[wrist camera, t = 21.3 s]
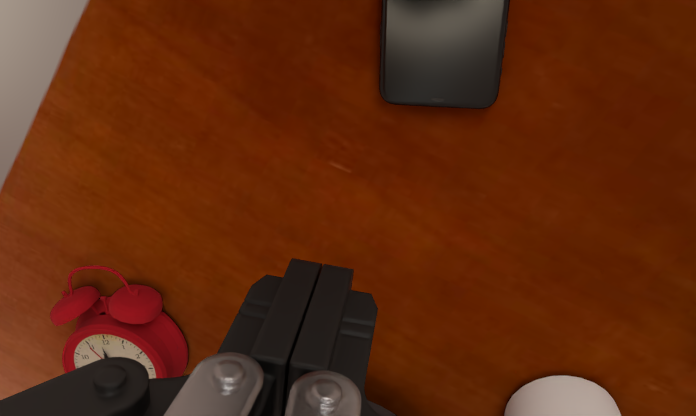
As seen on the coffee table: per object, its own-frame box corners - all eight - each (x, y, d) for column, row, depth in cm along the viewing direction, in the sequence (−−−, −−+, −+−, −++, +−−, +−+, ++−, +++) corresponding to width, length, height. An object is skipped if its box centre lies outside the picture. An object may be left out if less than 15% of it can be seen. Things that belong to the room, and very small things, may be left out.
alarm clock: (83, 424, 55) (-1, 314, 46) (111, 366, 60) (40, 257, 51) (189, 425, 54) (124, 311, 44) (209, 366, 58) (154, 252, 49)
